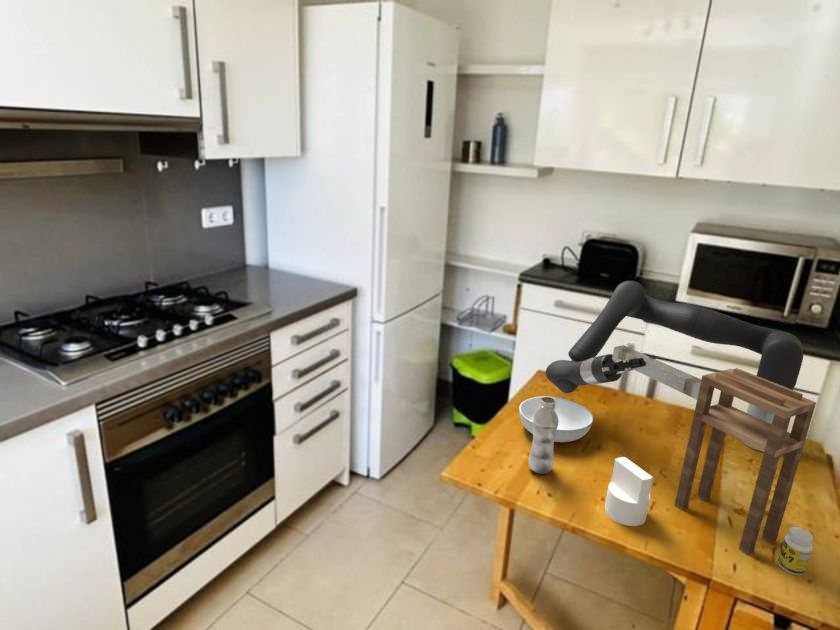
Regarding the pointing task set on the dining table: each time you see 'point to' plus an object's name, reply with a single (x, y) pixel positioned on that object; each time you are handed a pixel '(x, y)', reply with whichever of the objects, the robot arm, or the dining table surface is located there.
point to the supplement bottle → (796, 551)
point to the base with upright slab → (628, 493)
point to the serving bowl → (560, 418)
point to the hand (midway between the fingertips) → (648, 360)
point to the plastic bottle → (543, 436)
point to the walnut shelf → (753, 433)
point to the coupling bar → (661, 372)
